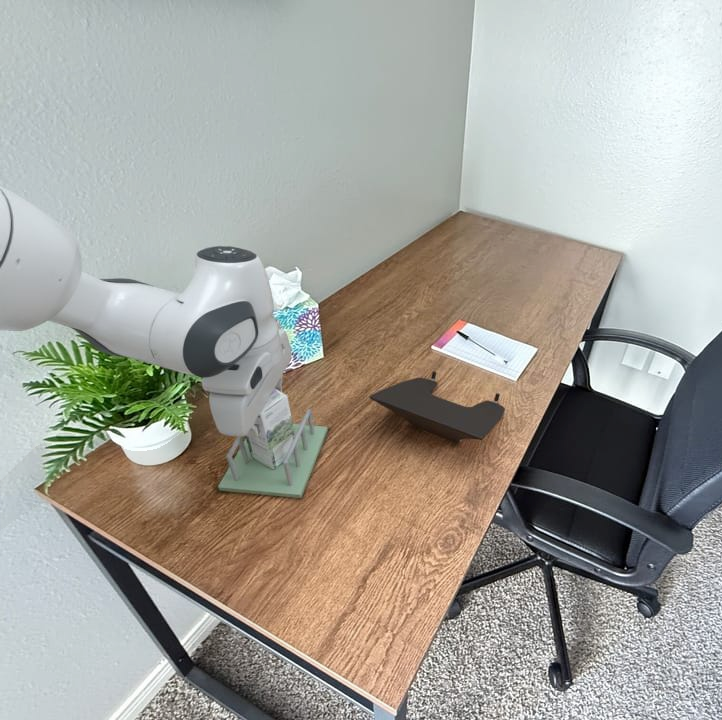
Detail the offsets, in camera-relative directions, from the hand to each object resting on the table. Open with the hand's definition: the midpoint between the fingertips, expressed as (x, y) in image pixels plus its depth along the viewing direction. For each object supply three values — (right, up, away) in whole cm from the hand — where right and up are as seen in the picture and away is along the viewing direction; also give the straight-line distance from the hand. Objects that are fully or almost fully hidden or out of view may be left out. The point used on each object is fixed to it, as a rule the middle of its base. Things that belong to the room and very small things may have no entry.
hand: (265, 414), depth 78 cm
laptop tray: (+29, -4, +20) cm, 35 cm away
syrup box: (-1, -8, +7) cm, 11 cm away
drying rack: (-1, -9, +7) cm, 12 cm away
